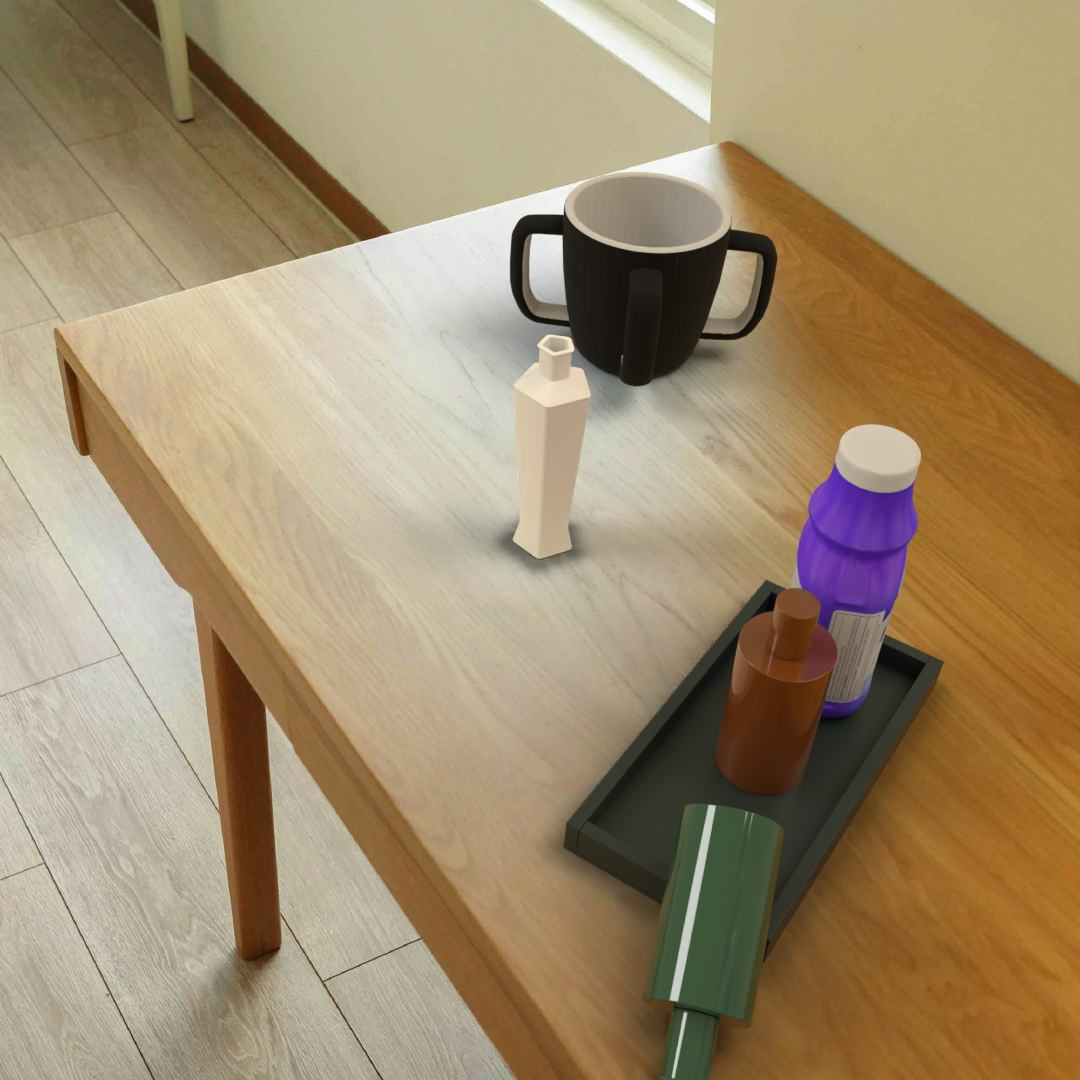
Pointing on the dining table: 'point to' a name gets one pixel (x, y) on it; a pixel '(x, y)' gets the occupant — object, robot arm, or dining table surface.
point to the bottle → (859, 552)
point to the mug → (641, 271)
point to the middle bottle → (776, 695)
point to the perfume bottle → (549, 446)
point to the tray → (694, 778)
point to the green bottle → (712, 931)
